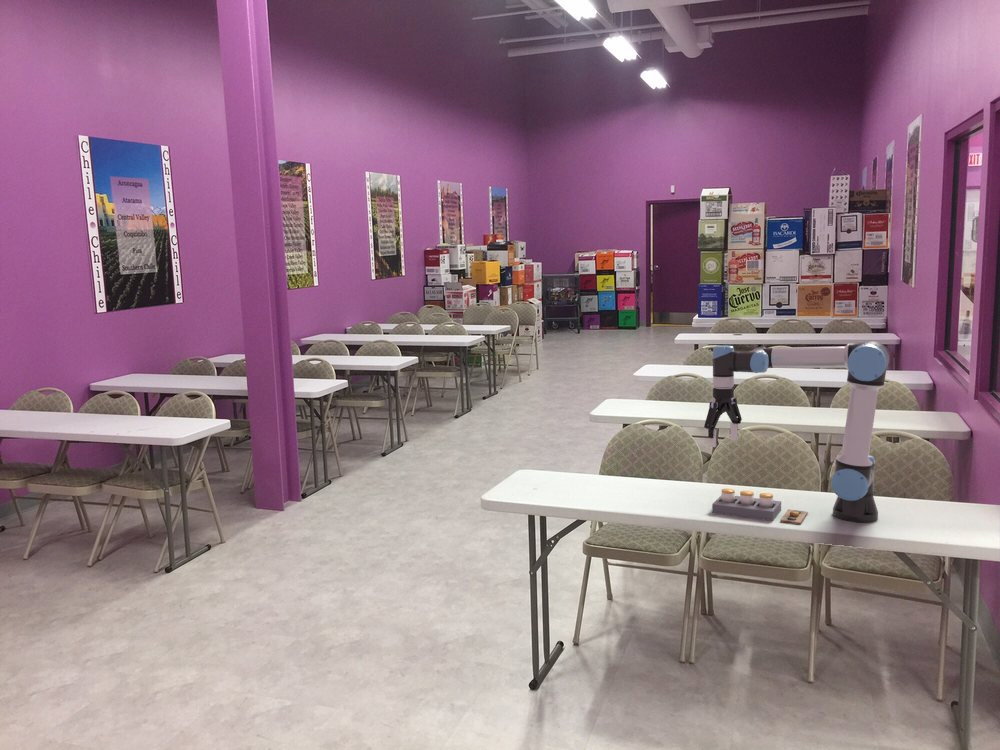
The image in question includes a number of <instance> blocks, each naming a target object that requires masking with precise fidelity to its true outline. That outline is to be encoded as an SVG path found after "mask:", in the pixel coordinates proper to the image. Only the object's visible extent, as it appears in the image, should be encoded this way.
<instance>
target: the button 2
mask: <svg viewBox="0 0 1000 750" xmlns="http://www.w3.org/2000/svg"><path fill="white" fill-rule="evenodd" d="M758 496H759V498H758V499H759V506H760V507H766V508H772V507H773V500H774V494H772V493H769V492H760V493H759V495H758Z"/></svg>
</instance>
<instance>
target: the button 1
mask: <svg viewBox="0 0 1000 750" xmlns="http://www.w3.org/2000/svg"><path fill="white" fill-rule="evenodd" d="M735 492H736V490H735V489H733V488H722V489H721V494H720V496H721V502H727V503H734V502H735V496H736V495H735V494H736V493H735Z"/></svg>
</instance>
